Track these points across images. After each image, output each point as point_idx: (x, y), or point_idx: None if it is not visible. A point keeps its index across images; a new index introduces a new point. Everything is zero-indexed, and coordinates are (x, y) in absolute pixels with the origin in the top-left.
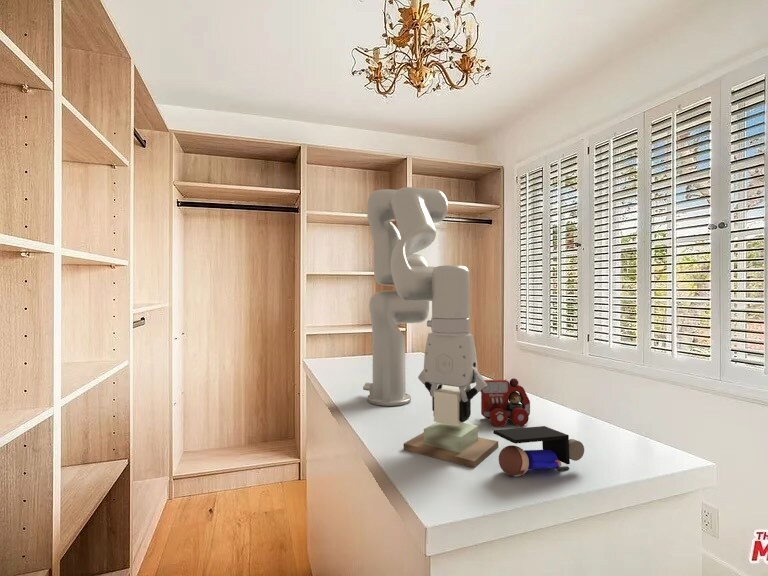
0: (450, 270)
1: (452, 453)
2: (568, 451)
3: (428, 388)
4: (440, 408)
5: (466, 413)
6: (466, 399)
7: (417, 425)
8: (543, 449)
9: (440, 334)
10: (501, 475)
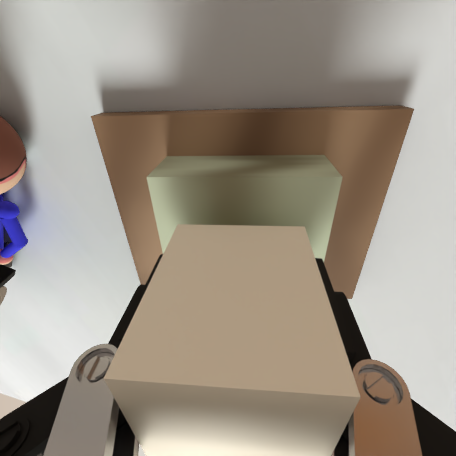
0: None
1: (187, 134)
2: None
3: (446, 440)
4: (271, 275)
5: (138, 294)
6: (91, 364)
7: (412, 312)
8: (5, 276)
9: None
10: (15, 111)
